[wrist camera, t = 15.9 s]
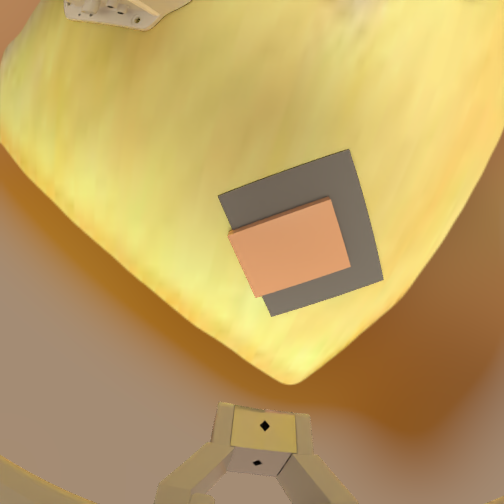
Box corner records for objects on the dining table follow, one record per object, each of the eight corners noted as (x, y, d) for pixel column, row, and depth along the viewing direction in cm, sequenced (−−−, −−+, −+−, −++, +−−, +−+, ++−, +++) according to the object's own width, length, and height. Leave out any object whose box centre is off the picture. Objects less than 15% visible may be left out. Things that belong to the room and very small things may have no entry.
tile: (255, 297, 45) (350, 266, 42) (227, 235, 41) (330, 199, 39) (256, 291, 47) (348, 261, 44) (228, 231, 43) (328, 196, 40)
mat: (271, 315, 49) (271, 316, 48) (218, 195, 41) (217, 196, 41) (382, 278, 45) (383, 279, 45) (348, 149, 38) (349, 149, 38)
